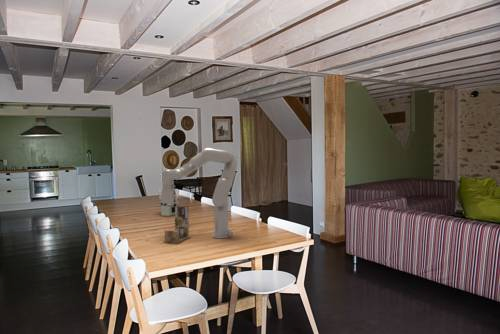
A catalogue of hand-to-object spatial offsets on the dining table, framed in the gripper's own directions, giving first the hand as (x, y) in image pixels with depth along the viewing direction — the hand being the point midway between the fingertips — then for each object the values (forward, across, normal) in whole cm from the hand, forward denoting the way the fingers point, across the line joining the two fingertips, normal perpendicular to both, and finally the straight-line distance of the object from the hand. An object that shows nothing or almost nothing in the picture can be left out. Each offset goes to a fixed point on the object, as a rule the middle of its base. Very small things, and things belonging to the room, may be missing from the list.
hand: (169, 212), depth 256 cm
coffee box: (+17, +8, -29) cm, 34 cm away
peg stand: (+17, -10, +8) cm, 22 cm away
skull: (+17, +42, -67) cm, 81 cm away
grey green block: (+1, 0, 0) cm, 1 cm away
